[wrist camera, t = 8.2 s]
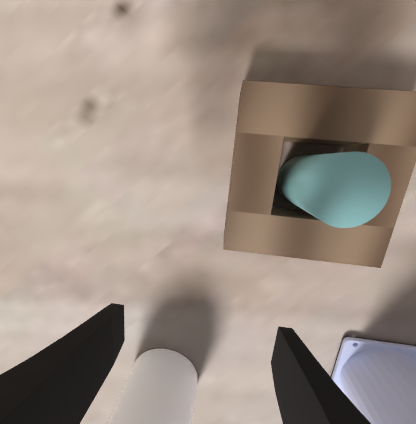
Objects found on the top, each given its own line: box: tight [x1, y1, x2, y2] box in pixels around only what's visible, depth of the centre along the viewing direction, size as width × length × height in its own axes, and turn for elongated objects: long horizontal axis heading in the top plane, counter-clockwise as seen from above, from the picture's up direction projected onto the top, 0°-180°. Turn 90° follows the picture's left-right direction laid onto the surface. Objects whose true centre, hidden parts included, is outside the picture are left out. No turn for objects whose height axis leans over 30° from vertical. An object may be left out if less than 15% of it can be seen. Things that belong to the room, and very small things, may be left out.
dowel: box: [277, 152, 391, 228], centre depth 14 cm, size 4×4×7 cm
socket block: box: [224, 80, 416, 268], centre depth 16 cm, size 12×12×3 cm
